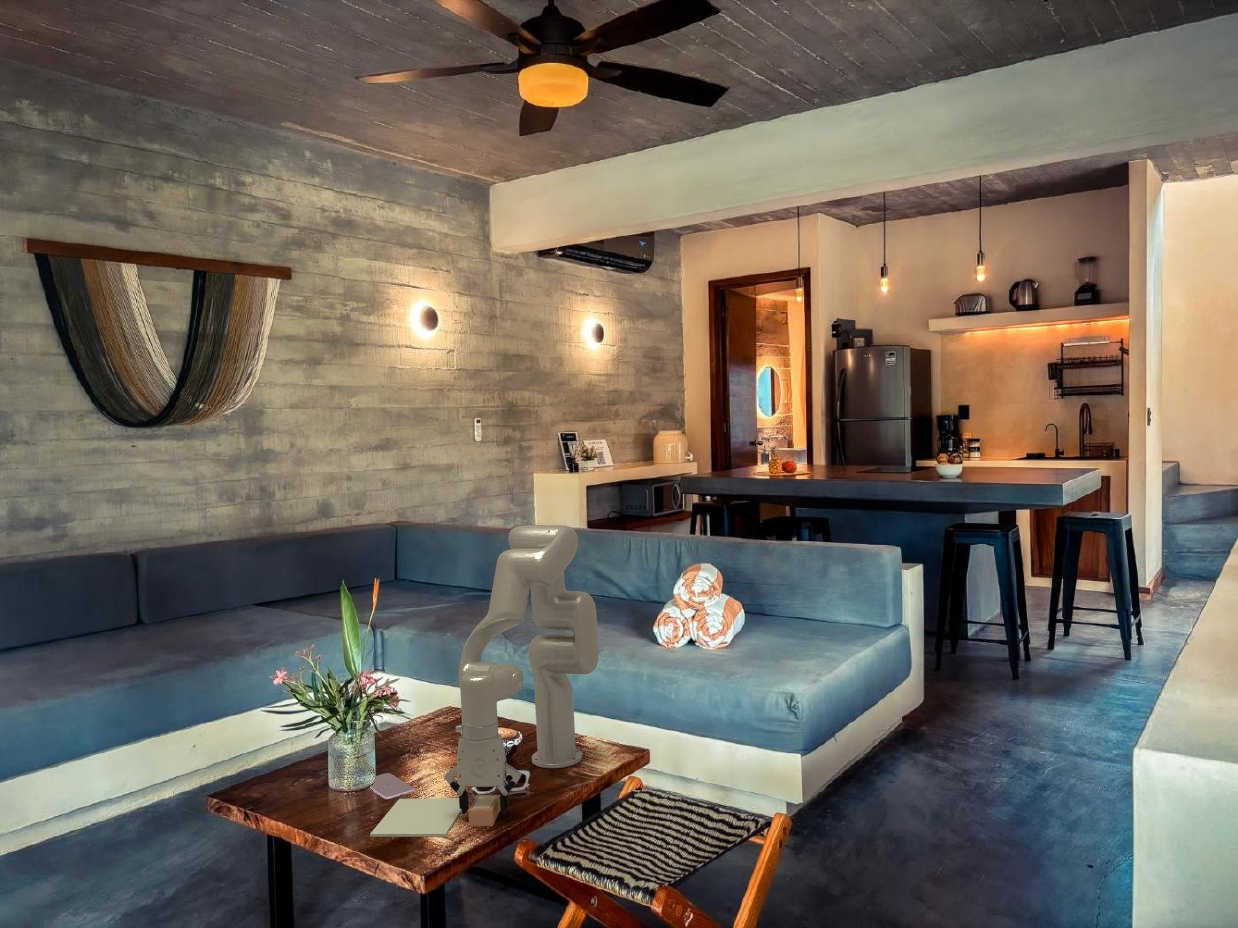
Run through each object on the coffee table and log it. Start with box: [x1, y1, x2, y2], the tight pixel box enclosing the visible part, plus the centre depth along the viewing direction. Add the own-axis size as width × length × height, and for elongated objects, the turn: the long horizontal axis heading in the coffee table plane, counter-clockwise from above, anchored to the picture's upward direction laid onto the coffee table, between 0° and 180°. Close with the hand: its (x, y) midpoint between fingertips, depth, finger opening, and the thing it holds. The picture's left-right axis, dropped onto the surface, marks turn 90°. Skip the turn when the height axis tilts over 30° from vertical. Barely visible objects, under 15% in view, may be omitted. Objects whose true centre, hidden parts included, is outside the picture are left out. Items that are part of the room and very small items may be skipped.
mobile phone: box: [370, 772, 416, 800], centre depth 218 cm, size 8×1×15 cm
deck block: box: [467, 794, 501, 827], centre depth 198 cm, size 8×5×4 cm, turn 176°
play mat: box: [369, 797, 470, 838], centre depth 199 cm, size 18×16×1 cm
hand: (484, 811), depth 198 cm, fingers open, 7 cm apart
